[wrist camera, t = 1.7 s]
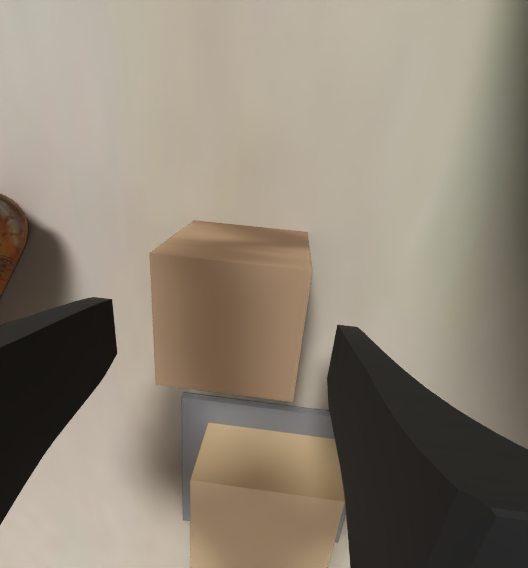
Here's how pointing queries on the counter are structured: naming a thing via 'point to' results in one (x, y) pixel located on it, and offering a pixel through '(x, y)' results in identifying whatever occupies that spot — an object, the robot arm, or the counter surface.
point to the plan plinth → (259, 484)
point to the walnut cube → (230, 309)
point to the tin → (10, 237)
